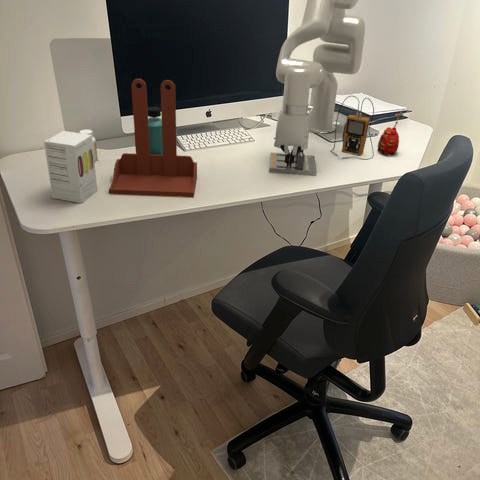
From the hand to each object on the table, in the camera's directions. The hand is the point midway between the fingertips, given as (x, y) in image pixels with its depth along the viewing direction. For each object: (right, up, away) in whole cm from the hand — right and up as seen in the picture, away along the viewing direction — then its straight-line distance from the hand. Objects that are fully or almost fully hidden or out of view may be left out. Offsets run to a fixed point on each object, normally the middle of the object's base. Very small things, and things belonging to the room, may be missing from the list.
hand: (289, 164), depth 165 cm
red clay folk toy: (+37, +7, +19) cm, 42 cm away
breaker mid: (+4, +2, +4) cm, 6 cm away
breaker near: (+3, -1, 0) cm, 4 cm away
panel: (+2, 0, +5) cm, 6 cm away
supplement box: (-63, -11, -18) cm, 66 cm away
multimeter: (+22, +5, +15) cm, 27 cm away
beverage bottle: (-42, -2, -2) cm, 42 cm away
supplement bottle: (-65, +2, +2) cm, 65 cm away
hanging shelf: (-41, -8, -11) cm, 43 cm away
